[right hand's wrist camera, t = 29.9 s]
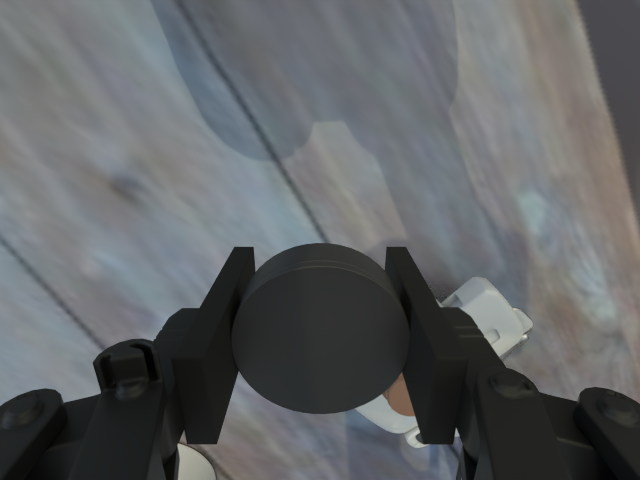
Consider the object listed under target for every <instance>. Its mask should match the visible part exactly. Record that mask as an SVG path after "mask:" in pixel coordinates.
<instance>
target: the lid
mask: <svg viewBox="0 0 640 480" xmlns="http://www.w3.org/2000/svg"><path fill="white" fill-rule="evenodd" d="M409 339H410V327H409V322H408V320H407V317H406V314H405V311H404V309H403V306H402V304H401V301H400V299H399V296H398V294H397V291H396V289H395V286H394V284H393V282H392V281H391V279H390V277H389V276H388V275H387V273H386V272H385V271H384V270H383V269H382V268H381V267H380V266H379V265H378V264H377V263H376V262H375V261H373V260H372V259H371V258H370V257H368V256H366V255H364V254H363V253H361V252H359V251H356V250H354V249H351V248H348V247H345V246H341V245H336V244H329V243H314V244H305V245H301V246H296V247H293V248H290V249H288V250H285V251H283V252H281V253H279V254H277V255H275V256H274V257H272V258H271V259H269V260H268V261H266V262H265V263H264V264H263V265H262V266H261V267H260V268H259V269H258V270H257V271H256V273H255V274H254V275H253V276H252V278H251V280H250V281H249V283H248V285H247V287H246V290H245V292H244V295H243V297H242V300H241V303H240V305H239V308H238V310H237V313H236V315H235V318H234V321H233V325H232V329H231V345H232V354H233V358H234V361H235V363H236V366H237V368H238V370H239V371H240V373H241V375H242V377H243V378H244V379H245V380H246V382H247V383H248V384H249V385H250V386H251V387H252V388H253V389H254V390H255V391H256V392H257V393H259V394H260V395H261V396H263V397H264V398H266V399H267V400H269V401H271V402H273V403H275V404H277V405H279V406H281V407H284V408H287V409H290V410H294V411H298V412H303V413H311V414H330V413H338V412H343V411H348V410H351V409H355V408H357V407H360V406H362V405H365V404H367V403H369V402H370V401H372V400H374V399H376V398H377V397H379V396H380V395H381V394H383V393H384V392H385V391H386V390H387V389H388V388H390V387H391V386H392V384H393V383H394V382H395V381H396V380H397V378H398V377H399V375H400V374H401V372H402V371H403V369H404V367H405V364H406V362H407V357H408V348H409Z"/></svg>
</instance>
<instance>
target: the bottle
mask: <svg viewBox="0 0 640 480" xmlns="http://www.w3.org/2000/svg"><path fill="white" fill-rule="evenodd" d="M382 395H383V397H384V398H385V399H386V400H387V401H388V404H389V405H390V407H391V408H392V409H393V410H394V411H395V412H397V413H398V414H400V415H403V416H415V414H414V411H413V407H412V404H411V401H410V397H409V394H408V391H407V387H406V384H405V381H404V377H403V374H402V372H401V374H400V375H399V377H398V378H397V380H396V381H395V382H394V383H393V384H392V386H391V387H390V388H388V389H387V390H386V391H385V392H384V393H383V394H382Z"/></svg>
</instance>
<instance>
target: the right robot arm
mask: <svg viewBox="0 0 640 480" xmlns="http://www.w3.org/2000/svg"><path fill="white" fill-rule="evenodd" d="M385 272H386V273H387V275H388V276H389V277H390V279H391V281H392V282H393V284H394V286H395V289H396V291H397V294H398V296H399V299H400V301H401V304H402V306H403V309H404V311H405V314H406V317H407V320H408V322H409V327H410V339H409V348H408V357H407V362H406V364H405V367H404V369H403V371H402V374H403V377H404V381H405V384H406V387H407V391H408V394H409V397H410V401H411V404H412V407H413V411H414V414H415V417H416V421H417V424H418V428H419V431H420V434H421V438H422V441H423V444H453V442H454V437H455V431H456V428H457V431H458V433H459V436H460V438H461V441H462V443H463V446H462V450H461V455H460V460H459V465H458V470H457V476H456V480H461V477H462V480H640V404H639V403H638V402H636V401H634V400H633V399H631V398H629V397H627V396H625V395H623V394H621V393H618V392H615V391H613V390H610V389H605V388H598V387H592V388H586V389H584V390H583V391H582V392H581V393H580V395H579V397H578V400H577V401H572V400H568V399H564V398H559V397H555V396H551V395H547V394H544V393H540V392H539V391H538V389H537V388H536V386H535V385H534V383H533V382H532V381H530V380H529V379H528V378H527V377H526V376H524V375H522V374H520V373H519V372H517V371H515V370H512V369H509V368H506V366H505V365H504V364H503V362H502V361H501V359H500V358H499V356H498V355H497V353H496V352H495V351H494V349H493V348H492V346H491V345H490V343H489V342H488V340H487V339H486V338H484V335H483V333H482V332H481V330H480V329H478V326H477V324H476V323H475V321H474V320H473V319H472V317H471V316H470V315H468V314H467V313H466V312H464V311H463V310H462V309H460V308H459V307H440V306H439V304H438V303H437V301H436V299H435V297H434V296H433V294H432V292H431V290H430V289H429V287H428V285H427V283H426V282H425V280H424V278H423V276H422V275H421V273H420V271H419V269H418V268H417V266H416V264H415V262H414V261H413V259H412V257H411V255H410V254H409V252H408V250H407V248H406V247H387V249H386V263H385ZM254 274H255V260H254V247H234V249H233V250H232V252H231V254H230V256H229V257H228V259H227V261H226V263H225V264H224V266H223V268H222V270H221V271H220V273H219V275H218V277H217V278H216V280H215V282H214V284H213V285H212V287H211V289H210V291H209V292H208V294H207V296H206V298H205V299H204V301H203V303H202V305H201V306H200V308H182V309H180V310H179V311H178V312H176V313H175V314H173V315H172V316H171V317H169V319H168V320H167V322H166V323H165V325H164V326H163V328H162V330H161V331H160V332H159V333H158V335H157V336H156V339H154V341H153V342H152V341H150V340H146V339H131V340H127V341H123V342H120V343H117V344H115V345H113V346H111V347H109V348H107V349H106V350H104V351H103V352H102V353H100V354H99V355H98V356H97V358H96V359H95V360H94V362H93V365H94V369H95V372H96V376H97V379H98V383H99V386H100V389H101V394H98V395H95V396H91V397H87V398H83V399H79V400H74V401H70V402H66V403H64V402H63V400H62V397H61V394H60V393H58V392H57V391H56V390H52V389H46V388H45V389H39V390H32V391H30V392H27V393H24V394H21V395H18V396H16V397H15V398H13V399H11V400H9V401H7V402H6V403H4V404H3V405H1V406H0V480H178V474H179V463H180V457H179V450H178V446H177V445H178V443H179V440H180V438H181V436H182V433H183V431H184V430H185V435H186V441H187V444H217V442H218V438H219V435H220V432H221V428H222V425H223V422H224V418H225V415H226V411H227V408H228V405H229V401H230V398H231V395H232V391H233V388H234V385H235V381H236V378H237V374H238V371H239V370H238V368H237V366H236V363H235V361H234V358H233V354H232V345H231V329H232V325H233V321H234V318H235V315H236V313H237V310H238V308H239V305H240V303H241V300H242V297H243V295H244V292H245V290H246V287H247V285H248V283H249V281H250V280H251V278H252V276H253V275H254Z"/></svg>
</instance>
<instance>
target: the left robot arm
mask: <svg viewBox="0 0 640 480" xmlns="http://www.w3.org/2000/svg"><path fill="white" fill-rule="evenodd" d="M436 301H437V300H436ZM437 303H438V304H439V306H440V307H459V308H460V309H462V310H463V311H464V312H466V313H467V314H468V315H470V316H471V317H472V319H473V320H474V321H475V323H476V324H477V326H478V329H480V330H481V332H482V333H483V335H484V338H486V339H487V340H488V342H489V343H490V345H491V346H492V348H493V349H494V351H495V352H496V353H497V355H498V356H499V358H500V359H501V360H502V359H503V358H505V357H506V356H507V355H509V354H510V353H511V352H512V351H513V349H515V348H517V347H518V346H521V345H522V344H524V343H525V342H526V341H527V340H528V339H529V337H528V335H529V333H530V332H531V330H532V327H533V323H532V320H531V318H530V317H529V316H528V315H527V314H526V313H525V312H524V311H523V310H521V309H519V308H516V307H511V306H510V304H509V303H508V302H507V300H506V299H505V298H504V297H503V296H502V295H501V293H500V292H499V291H498V290H497V289H496V288H495V287H494V286H493V285H492V284H491V283H490V282H489V281H488V280H487V279H486V278H483V277H472V278H471V279H469V280H468V281H467V282H466V283H465V284H463V285H462V286H461V287H460V288H459V289H457V290H456V291H455V292H454V293H453V294H451V295H450V296H449V297H448V298H447V299H445V300H444V301H443V302H442V303H440V302H439V301H437ZM355 409H356V410H357V411H358V412H359V413H360V414H362V415H363V416H364V417H366V418H367V419H369V420H370V421H372V422H373V423H375V424H376V425H378V426H379V427H381V428H383V429H385V430H387V431H389V432H392V433H398V434H399V433H404V435H405V438H406V440H407V442H408V443H409V444H410V445H411V446H412V447H414V448H422V447H425V446H427V445H430V444H423V441H422V438H421V434H420V431H419V428H418V424H417V421H416V417H415V416H403V415H400V414H398V413H397V412H395V411H394V410H393V409H392V408H391V407H390V405H389V404H388V401H387V400H386V399H385V398H384V397H383V395H382V394H381V395H380V396H379V397H377V398H376V399H374V400H372V401H370V402H369V403H367V404H365V405H362V406H360V407H357V408H355ZM458 436H459V433H458V431H457V428H456V431H455V437H458ZM177 446H178V450H179V457H180V463H179V474H178V480H216V476H215V472H214V469H213V467H212V466H211V464H210V463H209V462H208V460H207V459H206V458H205V457H204V456H202V455H201V454H200V453H198V452H197V451H195V450H194V449H192V448H190V447H187V446H185V445H182V444H179V443H178V445H177Z"/></svg>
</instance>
